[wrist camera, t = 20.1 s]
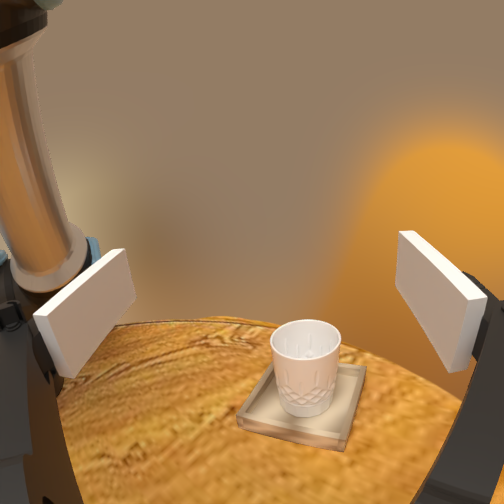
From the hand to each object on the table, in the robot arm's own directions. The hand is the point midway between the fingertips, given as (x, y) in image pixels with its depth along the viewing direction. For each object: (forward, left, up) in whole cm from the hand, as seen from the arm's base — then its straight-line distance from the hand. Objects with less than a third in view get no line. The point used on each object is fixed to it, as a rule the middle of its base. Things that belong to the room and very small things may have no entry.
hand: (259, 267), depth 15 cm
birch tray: (-3, +16, -26) cm, 31 cm away
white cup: (-3, +16, -26) cm, 30 cm away
